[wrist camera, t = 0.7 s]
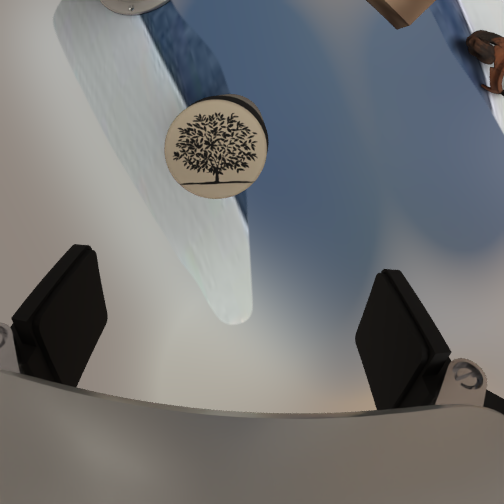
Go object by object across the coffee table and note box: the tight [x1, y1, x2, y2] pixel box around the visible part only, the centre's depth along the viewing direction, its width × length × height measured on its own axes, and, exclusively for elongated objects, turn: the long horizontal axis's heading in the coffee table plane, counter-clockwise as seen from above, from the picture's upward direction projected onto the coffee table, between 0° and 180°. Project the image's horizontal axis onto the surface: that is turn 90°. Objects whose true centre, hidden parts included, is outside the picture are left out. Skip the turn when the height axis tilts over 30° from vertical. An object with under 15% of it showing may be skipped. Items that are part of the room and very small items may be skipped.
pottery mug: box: [466, 30, 504, 96], centre depth 29 cm, size 12×10×8 cm
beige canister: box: [164, 94, 268, 199], centre depth 30 cm, size 8×8×18 cm
